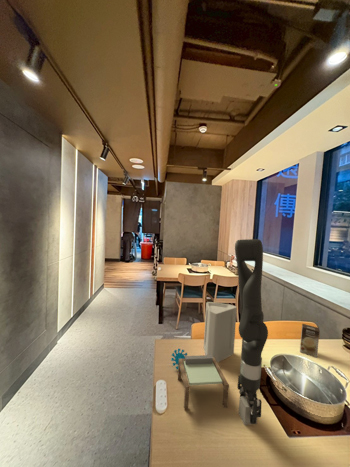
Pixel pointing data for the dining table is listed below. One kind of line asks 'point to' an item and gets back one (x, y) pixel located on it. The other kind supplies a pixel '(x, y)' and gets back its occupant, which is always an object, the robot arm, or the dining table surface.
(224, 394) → the stand
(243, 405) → the small gray block
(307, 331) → the coffee box
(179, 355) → the teal piece
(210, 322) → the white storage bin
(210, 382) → the trapdoor
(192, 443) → the dining table surface
